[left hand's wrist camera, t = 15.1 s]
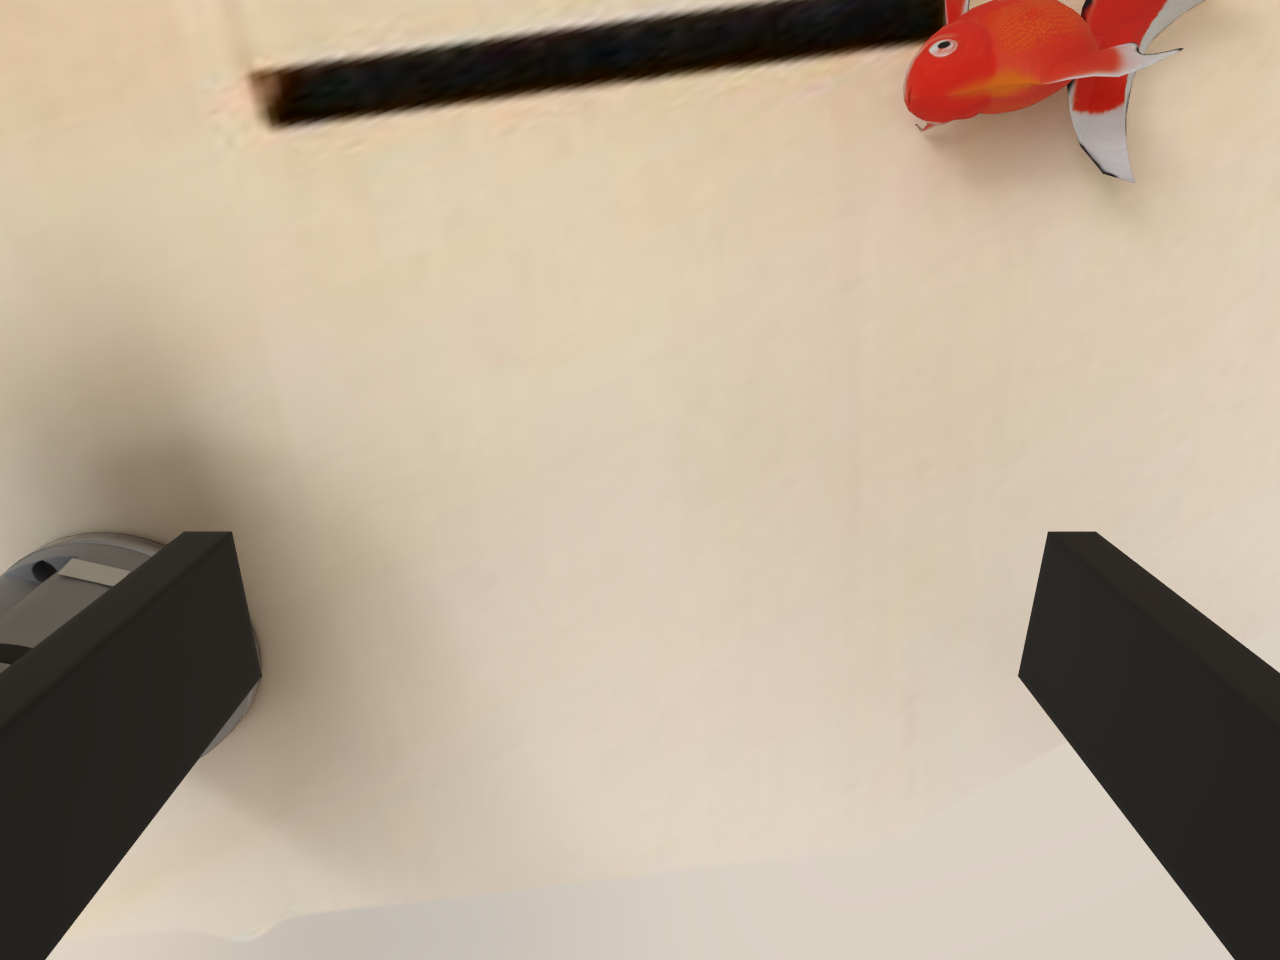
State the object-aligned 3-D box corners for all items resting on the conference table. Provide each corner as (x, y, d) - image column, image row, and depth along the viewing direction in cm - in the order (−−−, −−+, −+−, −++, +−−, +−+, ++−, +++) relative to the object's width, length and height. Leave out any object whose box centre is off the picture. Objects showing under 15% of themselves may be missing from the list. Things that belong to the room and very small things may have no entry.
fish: (896, -184, 28) (1122, -169, 22) (1169, -135, 35) (1412, -111, 28) (820, 125, 35) (975, 209, 29) (1059, 121, 41) (1233, 190, 35)
